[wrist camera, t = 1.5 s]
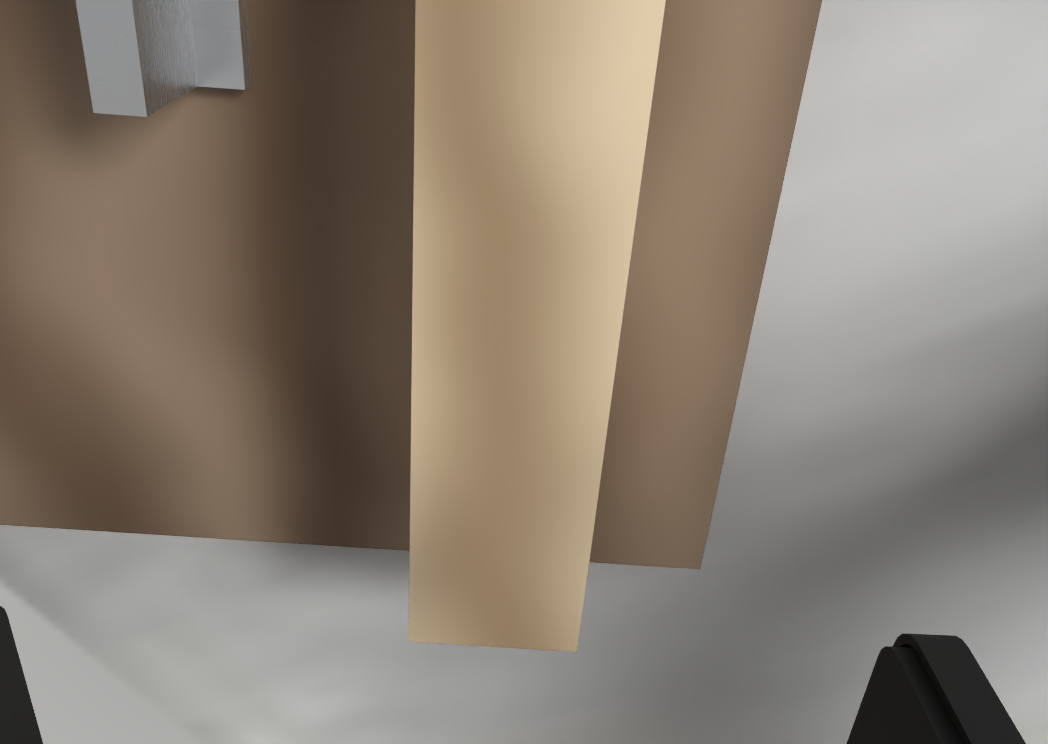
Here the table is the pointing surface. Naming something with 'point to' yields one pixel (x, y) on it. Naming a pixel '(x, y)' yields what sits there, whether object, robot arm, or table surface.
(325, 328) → the board
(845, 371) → the table surface
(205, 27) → the bracket
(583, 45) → the rail
